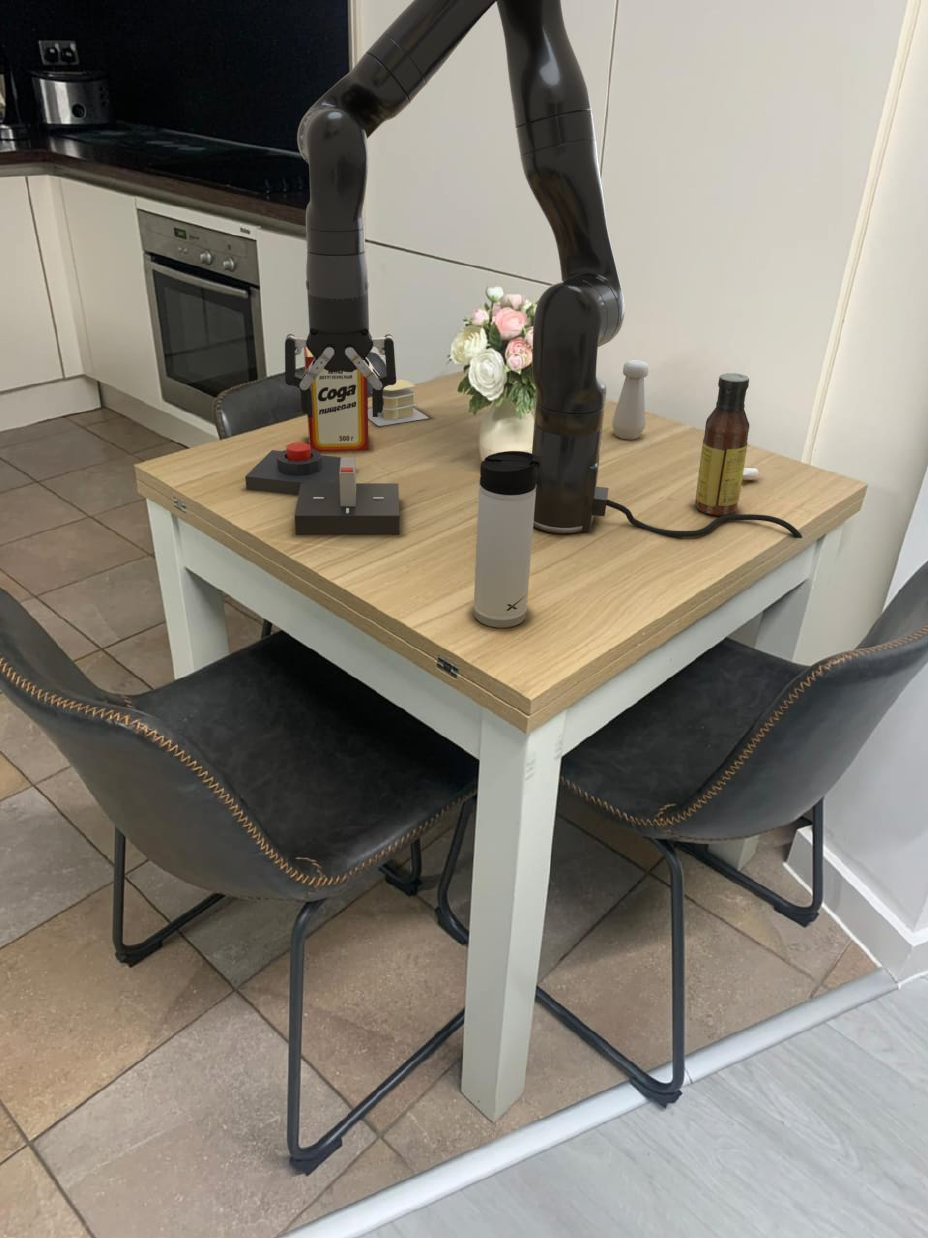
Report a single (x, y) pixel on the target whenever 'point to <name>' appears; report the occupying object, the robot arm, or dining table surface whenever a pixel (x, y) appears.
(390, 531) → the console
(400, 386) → the stacked layers on plate
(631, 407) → the salt shaker
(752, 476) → the small white plastic part
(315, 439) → the baking soda box
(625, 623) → the dining table surface
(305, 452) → the power button
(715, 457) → the sauce bottle
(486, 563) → the travel mug
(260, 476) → the red button base
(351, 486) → the grey block
